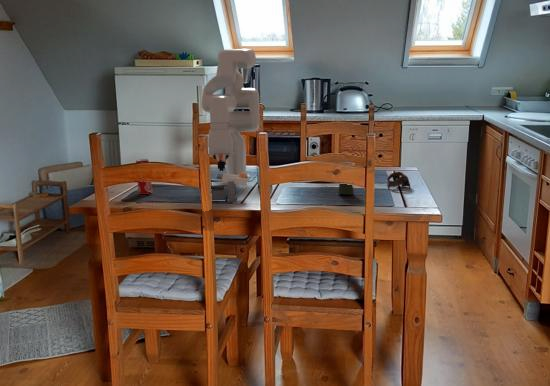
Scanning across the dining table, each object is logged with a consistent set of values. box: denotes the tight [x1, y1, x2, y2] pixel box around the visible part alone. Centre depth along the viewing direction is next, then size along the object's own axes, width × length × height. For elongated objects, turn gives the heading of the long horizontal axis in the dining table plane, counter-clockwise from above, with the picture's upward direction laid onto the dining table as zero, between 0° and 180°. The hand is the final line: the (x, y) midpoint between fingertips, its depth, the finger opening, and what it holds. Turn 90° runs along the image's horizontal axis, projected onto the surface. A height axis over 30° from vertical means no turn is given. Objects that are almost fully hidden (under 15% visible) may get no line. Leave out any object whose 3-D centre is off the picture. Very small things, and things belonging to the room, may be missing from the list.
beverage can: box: [135, 158, 153, 195], centre depth 250 cm, size 6×6×15 cm
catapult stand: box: [226, 181, 239, 203], centre depth 239 cm, size 14×4×8 cm, turn 1°
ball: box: [239, 172, 248, 179], centre depth 238 cm, size 4×4×4 cm
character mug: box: [338, 161, 356, 196], centre depth 241 cm, size 11×7×13 cm, turn 172°
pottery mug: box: [386, 171, 411, 190], centre depth 252 cm, size 12×10×8 cm
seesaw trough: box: [216, 172, 250, 186], centre depth 241 cm, size 13×13×3 cm
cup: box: [211, 180, 228, 200], centre depth 239 cm, size 9×7×8 cm
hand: (221, 170), depth 244 cm, fingers closed
